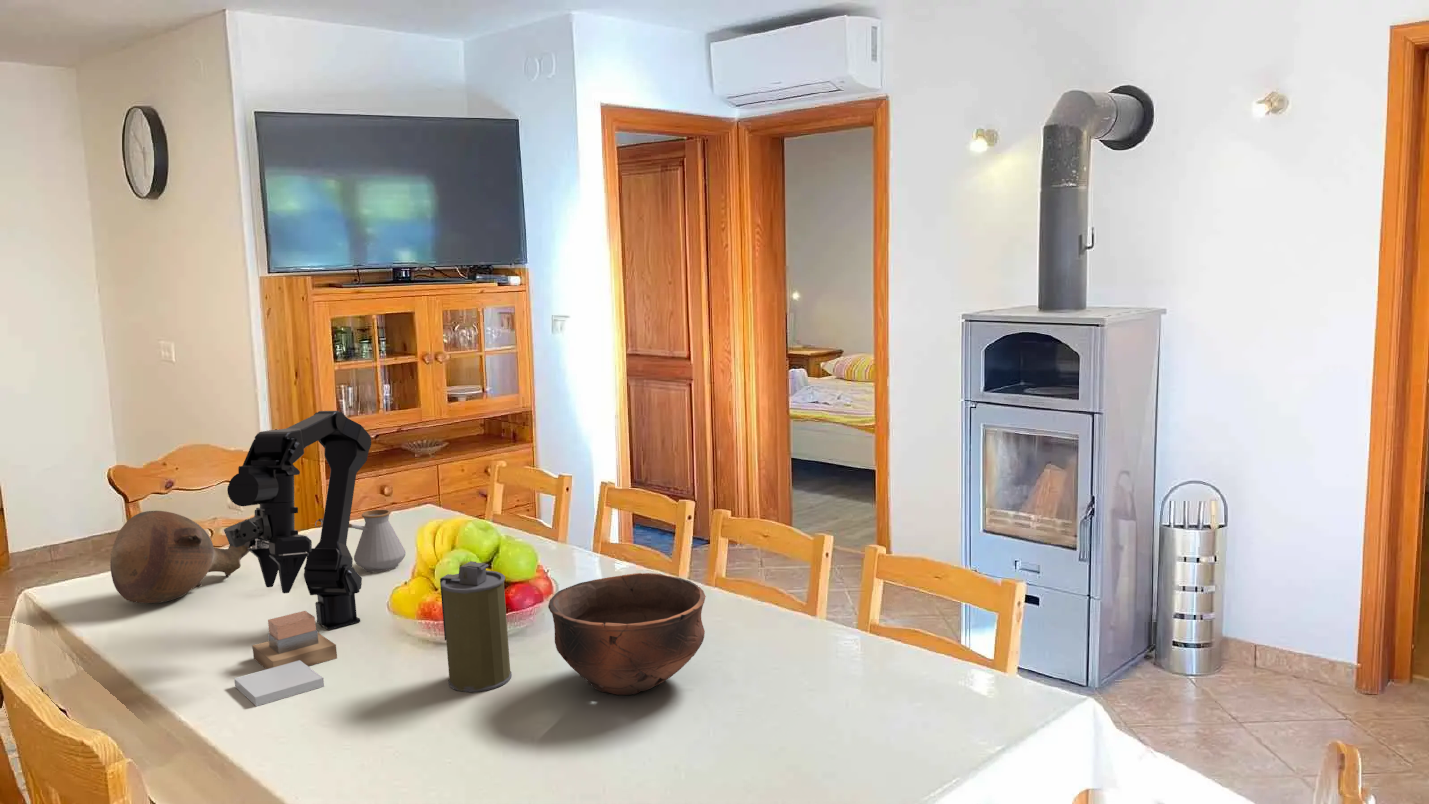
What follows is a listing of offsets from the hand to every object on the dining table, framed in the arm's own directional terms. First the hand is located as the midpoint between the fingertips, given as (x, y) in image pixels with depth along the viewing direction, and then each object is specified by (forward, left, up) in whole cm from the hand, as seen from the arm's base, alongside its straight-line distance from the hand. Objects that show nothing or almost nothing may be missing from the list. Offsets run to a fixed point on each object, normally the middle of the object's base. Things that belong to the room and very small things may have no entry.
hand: (277, 590), depth 190 cm
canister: (-21, +34, -13) cm, 42 cm away
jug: (+2, -57, -13) cm, 58 cm away
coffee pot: (-32, -41, -13) cm, 54 cm away
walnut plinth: (-2, +1, -13) cm, 13 cm away
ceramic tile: (+5, +12, -13) cm, 18 cm away
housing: (-2, +1, -11) cm, 11 cm away
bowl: (-38, +54, -13) cm, 67 cm away
